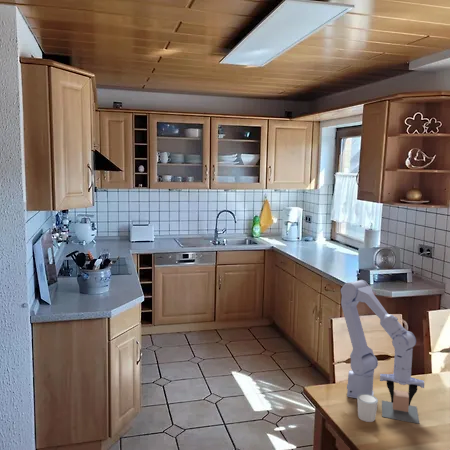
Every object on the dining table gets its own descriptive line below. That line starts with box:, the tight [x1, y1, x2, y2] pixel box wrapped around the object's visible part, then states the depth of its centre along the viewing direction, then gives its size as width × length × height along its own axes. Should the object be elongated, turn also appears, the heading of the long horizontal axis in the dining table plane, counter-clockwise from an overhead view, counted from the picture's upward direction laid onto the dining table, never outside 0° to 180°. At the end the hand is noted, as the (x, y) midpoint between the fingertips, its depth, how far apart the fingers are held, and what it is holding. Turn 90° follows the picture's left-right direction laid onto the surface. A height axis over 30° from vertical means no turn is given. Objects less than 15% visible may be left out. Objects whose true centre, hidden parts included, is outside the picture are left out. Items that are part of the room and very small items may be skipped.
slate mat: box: [381, 400, 420, 425], centre depth 154 cm, size 12×12×1 cm
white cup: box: [356, 394, 379, 423], centre depth 150 cm, size 7×7×7 cm
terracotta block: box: [393, 389, 409, 412], centre depth 154 cm, size 5×5×5 cm
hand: (400, 402), depth 154 cm, fingers closed on terracotta block, 5 cm apart
